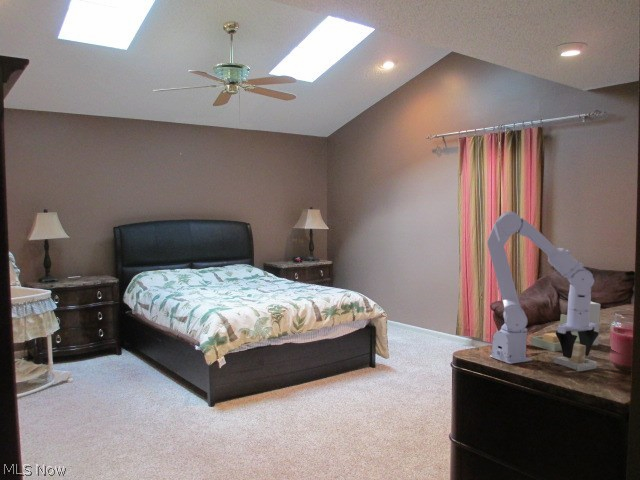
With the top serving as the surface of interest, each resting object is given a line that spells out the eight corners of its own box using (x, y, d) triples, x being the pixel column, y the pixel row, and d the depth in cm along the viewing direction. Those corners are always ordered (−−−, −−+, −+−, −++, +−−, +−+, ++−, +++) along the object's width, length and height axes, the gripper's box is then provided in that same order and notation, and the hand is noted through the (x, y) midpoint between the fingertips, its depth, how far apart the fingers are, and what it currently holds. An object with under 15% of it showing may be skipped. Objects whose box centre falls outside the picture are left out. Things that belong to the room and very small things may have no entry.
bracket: (577, 371, 138) (578, 353, 138) (553, 363, 145) (554, 347, 145) (596, 368, 142) (597, 351, 142) (572, 361, 149) (573, 344, 148)
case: (554, 352, 158) (555, 321, 157) (530, 345, 166) (532, 316, 165) (583, 349, 164) (585, 319, 164) (560, 342, 172) (561, 314, 172)
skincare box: (587, 342, 174) (589, 300, 174) (599, 346, 168) (602, 303, 168) (565, 342, 173) (567, 300, 172) (576, 346, 167) (579, 303, 166)
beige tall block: (577, 367, 141) (579, 346, 141) (568, 364, 144) (569, 343, 143) (584, 366, 142) (585, 345, 142) (575, 363, 145) (576, 343, 145)
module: (552, 348, 161) (553, 336, 161) (542, 345, 165) (542, 333, 164) (562, 347, 163) (563, 335, 163) (552, 344, 167) (553, 332, 167)
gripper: (574, 313, 136) (571, 362, 136) (608, 310, 142) (604, 357, 143) (552, 308, 142) (549, 355, 143) (585, 306, 149) (582, 351, 149)
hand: (575, 356), depth 143 cm, fingers open, 7 cm apart
